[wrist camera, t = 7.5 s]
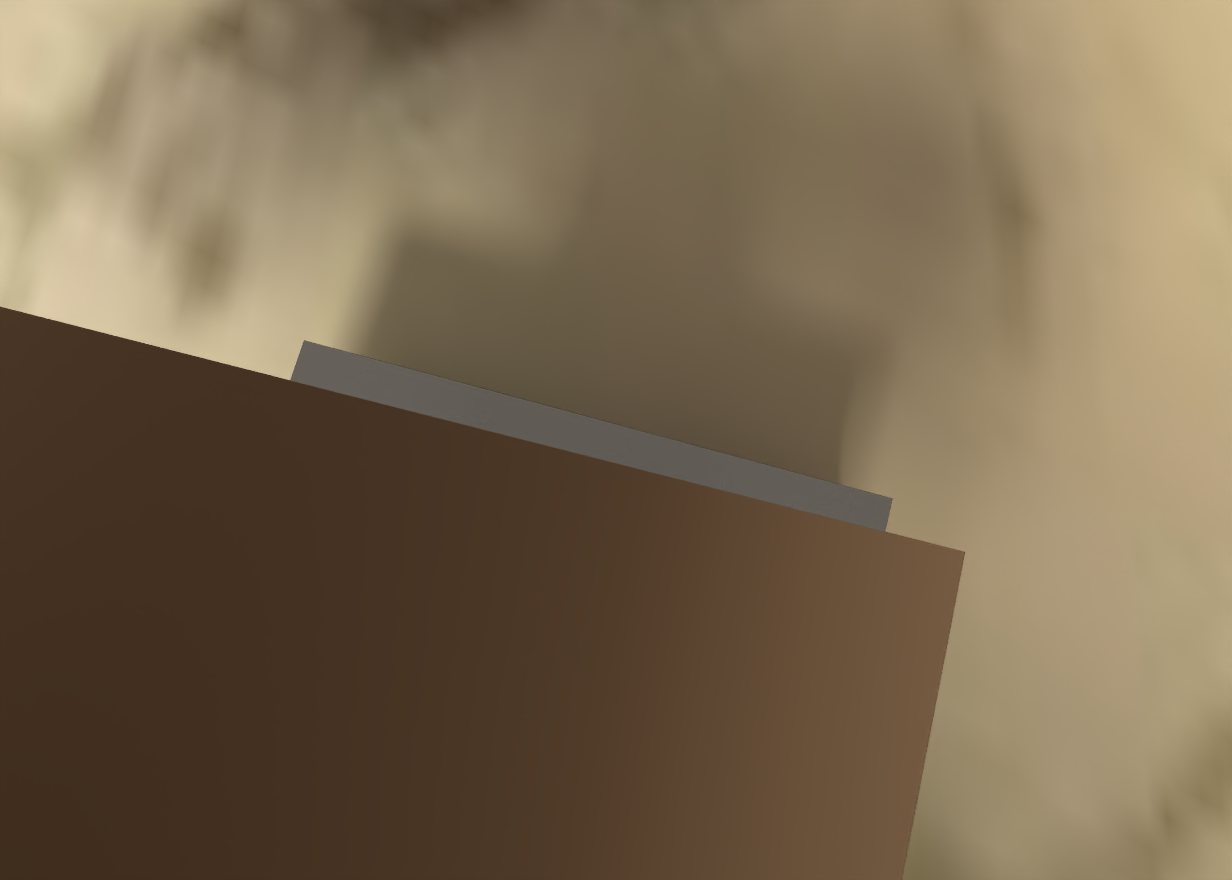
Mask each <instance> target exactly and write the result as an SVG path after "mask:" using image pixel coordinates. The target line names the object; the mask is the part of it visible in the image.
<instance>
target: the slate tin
mask: <svg viewBox="0 0 1232 880" xmlns="http://www.w3.org/2000/svg"><path fill="white" fill-rule="evenodd" d="M290 381H294V382H298V383H302V384H306V385H310V386H314V387H318V388H322V389H326V390H330V391H333V392H337V393H341V394H345V395H349V396H353V397H357V398H361V399H365V400H369V401H373V402H377V403H381V404H385V405H389V406H392V407H396V408H400V409H404V410H408V411H412V412H416V413H420V414H424V415H428V416H432V417H436V418H440V419H444V420H448V421H451V422H455V423H459V424H463V425H467V426H471V427H475V428H479V429H483V430H487V431H491V432H495V433H499V434H503V435H507V436H510V437H514V438H518V439H522V440H526V441H530V442H534V443H538V444H542V445H546V446H550V447H554V448H558V449H562V450H566V451H569V452H573V453H577V454H581V455H585V456H589V457H593V458H597V459H601V460H605V461H609V462H613V463H617V464H621V465H625V466H628V467H632V468H636V469H640V470H644V471H648V472H652V473H656V474H660V475H664V476H668V477H672V478H676V479H680V480H684V481H687V482H691V483H695V484H699V485H703V486H707V487H711V488H715V489H719V490H723V491H727V492H731V493H735V494H739V495H743V496H746V497H750V498H754V499H758V500H762V501H766V502H770V503H774V504H778V505H782V506H786V507H790V508H794V509H798V510H802V511H806V512H809V513H813V514H817V515H821V516H825V517H829V518H833V519H837V520H841V521H845V522H849V523H853V524H857V525H861V526H865V527H868V528H872V529H876V530H880V531H884V532H885V530H886V525H887V521H888V517H889V512H890V508H891V503H892V498H888V497H885V496H881V495H877V494H873V493H870V492H866V491H862V490H859V489H855V488H851V487H847V486H844V485H840V484H836V483H832V482H829V481H825V480H821V479H818V478H814V477H810V476H806V475H803V474H799V473H795V472H792V471H788V470H784V469H780V468H777V467H773V466H769V465H766V464H762V463H758V462H754V461H751V460H747V459H743V458H740V457H736V456H732V455H728V454H725V453H721V452H717V451H714V450H710V449H706V448H702V447H699V446H695V445H691V444H688V443H684V442H680V441H676V440H673V439H669V438H665V437H662V436H658V435H654V434H650V433H647V432H643V431H639V430H635V429H632V428H628V427H624V426H621V425H617V424H613V423H609V422H606V421H602V420H598V419H595V418H591V417H587V416H583V415H580V414H576V413H572V412H569V411H565V410H561V409H557V408H554V407H550V406H546V405H543V404H539V403H535V402H531V401H528V400H524V399H520V398H517V397H513V396H509V395H505V394H502V393H498V392H494V391H491V390H487V389H483V388H479V387H476V386H472V385H468V384H464V383H461V382H457V381H453V380H450V379H446V378H442V377H438V376H435V375H431V374H427V373H424V372H420V371H416V370H412V369H409V368H405V367H401V366H398V365H394V364H390V363H386V362H383V361H379V360H375V359H372V358H368V357H364V356H360V355H357V354H353V353H349V352H346V351H342V350H338V349H334V348H331V347H327V346H323V345H320V344H316V343H312V342H308V341H305V340H304V342H303V345H302V348H301V351H300V354H299V356H298V359H297V362H296V365H295V368H294V371H293V374H292V377H291V380H290Z"/></svg>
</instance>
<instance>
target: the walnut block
mask: <svg viewBox="0 0 1232 880" xmlns="http://www.w3.org/2000/svg"><path fill="white" fill-rule="evenodd" d="M964 555H965V552H963V551H959V550H955V549H951V548H947V547H943V546H939V545H935V544H931V543H927V542H924V541H920V540H916V539H912V538H908V537H904V536H900V535H896V534H892V533H888V532H884V531H880V530H876V529H872V528H868V527H865V526H861V525H857V524H853V523H849V522H845V521H841V520H837V519H833V518H829V517H825V516H821V515H817V514H813V513H809V512H806V511H802V510H798V509H794V508H790V507H786V506H782V505H778V504H774V503H770V502H766V501H762V500H758V499H754V498H750V497H746V496H743V495H739V494H735V493H731V492H727V491H723V490H719V489H715V488H711V487H707V486H703V485H699V484H695V483H691V482H687V481H684V480H680V479H676V478H672V477H668V476H664V475H660V474H656V473H652V472H648V471H644V470H640V469H636V468H632V467H628V466H625V465H621V464H617V463H613V462H609V461H605V460H601V459H597V458H593V457H589V456H585V455H581V454H577V453H573V452H569V451H566V450H562V449H558V448H554V447H550V446H546V445H542V444H538V443H534V442H530V441H526V440H522V439H518V438H514V437H510V436H507V435H503V434H499V433H495V432H491V431H487V430H483V429H479V428H475V427H471V426H467V425H463V424H459V423H455V422H451V421H448V420H444V419H440V418H436V417H432V416H428V415H424V414H420V413H416V412H412V411H408V410H404V409H400V408H396V407H392V406H389V405H385V404H381V403H377V402H373V401H369V400H365V399H361V398H357V397H353V396H349V395H345V394H341V393H337V392H333V391H330V390H326V389H322V388H318V387H314V386H310V385H306V384H302V383H298V382H294V381H290V380H286V379H282V378H278V377H274V376H271V375H267V374H263V373H259V372H255V371H251V370H247V369H243V368H239V367H235V366H231V365H227V364H223V363H219V362H215V361H212V360H208V359H204V358H200V357H196V356H192V355H188V354H184V353H180V352H176V351H172V350H168V349H164V348H160V347H156V346H152V345H149V344H145V343H141V342H137V341H133V340H129V339H125V338H121V337H117V336H113V335H109V334H105V333H101V332H97V331H93V330H90V329H86V328H82V327H78V326H74V325H70V324H66V323H62V322H58V321H54V320H50V319H46V318H42V317H38V316H34V315H31V314H27V313H23V312H19V311H15V310H11V309H7V308H3V307H0V880H902V876H903V871H904V866H905V861H906V856H907V850H908V845H909V840H910V835H911V830H912V824H913V819H914V814H915V809H916V804H917V799H918V793H919V788H920V783H921V778H922V773H923V767H924V762H925V757H926V752H927V747H928V742H929V736H930V731H931V726H932V721H933V716H934V710H935V705H936V700H937V695H938V690H939V685H940V679H941V674H942V669H943V664H944V659H945V653H946V648H947V643H948V638H949V633H950V628H951V622H952V617H953V612H954V607H955V602H956V596H957V591H958V586H959V581H960V576H961V571H962V565H963V560H964Z"/></svg>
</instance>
